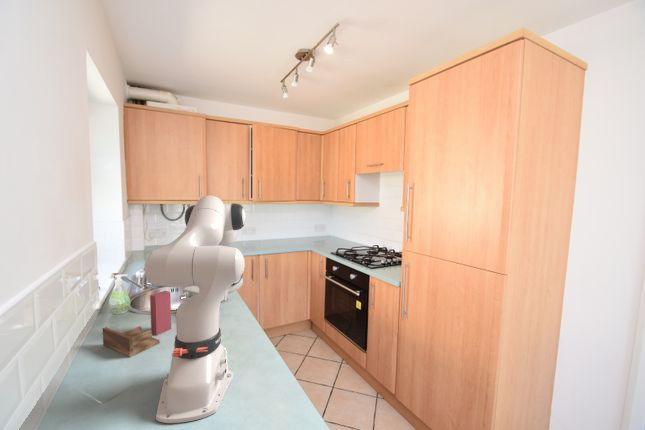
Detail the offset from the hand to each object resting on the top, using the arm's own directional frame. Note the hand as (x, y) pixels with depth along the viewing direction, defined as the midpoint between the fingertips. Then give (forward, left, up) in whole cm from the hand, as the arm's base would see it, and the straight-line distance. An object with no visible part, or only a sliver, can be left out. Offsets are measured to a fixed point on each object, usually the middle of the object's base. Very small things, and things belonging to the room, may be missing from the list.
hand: (187, 299), depth 120 cm
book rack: (-18, +14, -9) cm, 25 cm away
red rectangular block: (-9, +7, -9) cm, 15 cm away
